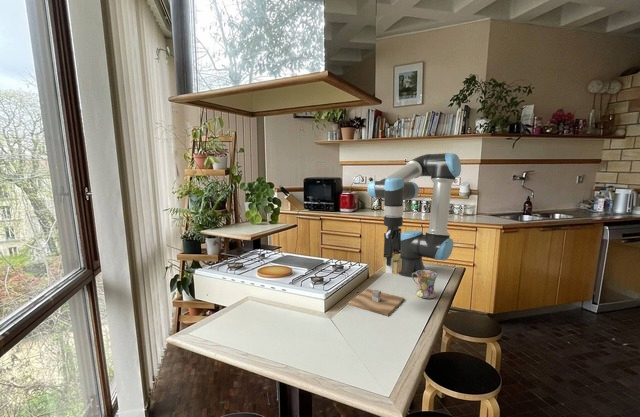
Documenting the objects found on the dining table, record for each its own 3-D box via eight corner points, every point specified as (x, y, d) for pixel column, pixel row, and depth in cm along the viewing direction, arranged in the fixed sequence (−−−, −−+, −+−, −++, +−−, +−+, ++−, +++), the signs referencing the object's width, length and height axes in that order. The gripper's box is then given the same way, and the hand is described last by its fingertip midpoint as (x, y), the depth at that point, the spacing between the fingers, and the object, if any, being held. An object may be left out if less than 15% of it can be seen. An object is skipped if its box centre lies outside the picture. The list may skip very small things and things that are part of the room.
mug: (440, 296, 138) (441, 273, 137) (429, 302, 132) (430, 278, 131) (417, 288, 147) (417, 267, 146) (405, 293, 141) (406, 271, 140)
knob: (388, 267, 133) (388, 249, 132) (401, 270, 129) (402, 251, 128) (382, 271, 128) (383, 253, 127) (396, 274, 125) (397, 255, 123)
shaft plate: (367, 290, 145) (367, 280, 145) (404, 299, 135) (404, 289, 134) (347, 304, 131) (348, 293, 130) (387, 316, 120) (387, 304, 120)
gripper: (392, 212, 135) (391, 263, 138) (375, 218, 120) (374, 275, 123) (409, 213, 131) (408, 265, 134) (393, 220, 116) (392, 279, 119)
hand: (392, 270), depth 129 cm, fingers closed on knob, 6 cm apart
